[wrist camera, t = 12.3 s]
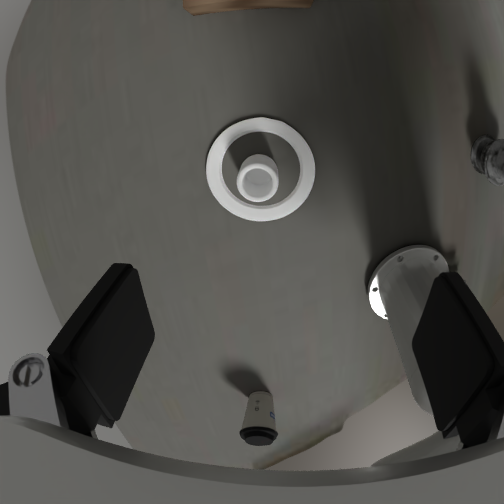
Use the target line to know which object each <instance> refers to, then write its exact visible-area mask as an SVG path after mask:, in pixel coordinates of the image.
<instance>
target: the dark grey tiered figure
mask: <svg viewBox="0 0 504 504" xmlns="http://www.w3.org/2000/svg"><path fill="white" fill-rule="evenodd" d="M471 161H472V164H473V166H474V168H475V169H476V171H478V172H479V173H481V174H485V175H486V176H487V179H488V180H489V181H490V182H491V183H492V184H494V185H497V186H499V185H503V184H504V139H498V140H495V139H494V138H493V137H491V136H488V135H482V136H480V137H479V138H478V139H476V141H475V142H474V144H473V147H472V150H471Z"/></svg>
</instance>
